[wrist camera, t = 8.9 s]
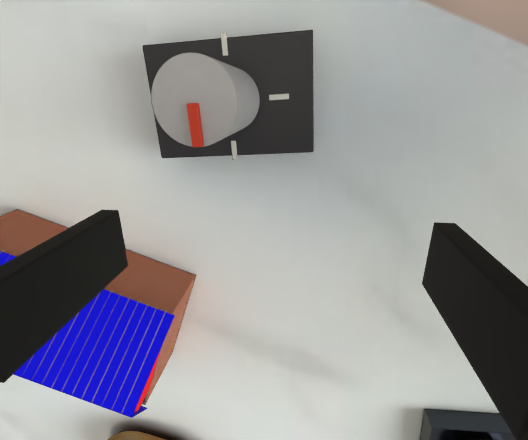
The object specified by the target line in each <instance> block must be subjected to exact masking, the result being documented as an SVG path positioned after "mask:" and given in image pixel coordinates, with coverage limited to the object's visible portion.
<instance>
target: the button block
mask: <svg viewBox="0 0 528 440" xmlns="http://www.w3.org/2000/svg"><path fill="white" fill-rule="evenodd" d="M420 440H516V439H515V437H514V436H513V434H512V432H511V431H510V429H509V427H508V426H507V424H506V422H505V421H504V419H503V417H502V416H501V414H492V413H477V412H462V411H447V410H432V409H425V411H424V417H423V424H422V430H421V436H420Z"/></svg>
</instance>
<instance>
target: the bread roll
mask: <svg viewBox="0 0 528 440" xmlns="http://www.w3.org/2000/svg"><path fill="white" fill-rule="evenodd" d="M108 440H165V439H162V438H159V437H155V436H153V435H150V434H146V433H142V432H139V431H124V432H120V433H117V434H115V435H113V436H112V437H110V438H109V439H108Z"/></svg>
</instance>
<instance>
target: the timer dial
mask: <svg viewBox="0 0 528 440" xmlns="http://www.w3.org/2000/svg"><path fill="white" fill-rule="evenodd" d="M151 100H152V107H153V111H154V114H155V116H156V119H157V121H158V122H159V124H160V126H161V127H162V128H163V130H164V131H165V132H166V133H167V134H168V135H169V136H170V137H171V138H173V139H174V140H176V141H177V142H179V143H182V144H184V145H187V146H192V147H204V146H208V145H211V144H214V143H216V142H218V141H220V140H222V139H224V138H226V137H228V136H230V135H232V134H234V133H236V132H238V131H239V130H241V129H243V128H245V127H247V126H248V125H249V124H250V123H251V122H252V121H253V120H254V118H255V117H256V115H257V112H258V109H259V103H260V98H259V92H258V88H257V86H256V84H255V82H254V80H253V79H252V78H251V77H250V76H249V75H248V74H247V73H246V72H244V71H243V70H241V69H239V68H236V67H234V66H231V65H229V64H226V63H224V62H221V61H219V60H216V59H213V58H211V57H208V56H206V55H203V54H199V53H182V54H179V55H176V56H174V57H172V58H170V59H169V60H168V61H166V62H165V63H164V64H163V65H162V67H161V68H160V69H159V71H158V72H157V74H156V76H155V79H154V81H153V85H152V92H151Z"/></svg>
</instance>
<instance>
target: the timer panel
mask: <svg viewBox="0 0 528 440" xmlns="http://www.w3.org/2000/svg"><path fill="white" fill-rule="evenodd" d="M143 52H144V57H145V63H146V69H147V75H148V81H149V86H150V92H152V85H153V81H154V79H155V76H156V74H157V72H158V71H159V69H160V68H161V67H162V65H163V64H164V63H165V62H166V61H168V60H169V59H170V58H172V57H174V56H176V55H179V54H182V53H199V54H203V55H206V56H208V57H211V58H213V59H216V60H219V61H221V62H224V63H226V64H229V65H231V66H234V67H236V68H239V69H241V70H243V71H244V72H246V73H247V74H248V75H249V76H250V77H251V78H252V79H253V80H254V82H255V84H256V86H257V88H258V92H259V98H260V103H259V109H258V112H257V115H256V117H255V118H254V120H253V121H252V122H251V123H250V124H249V125H248V126H247V127H245V128H243V129H241V130H239V131H238V132H236V133H234V134H232V135H230V136H228V137H226V138H224V139H222V140H220V141H218V142H216V143H214V144H211V145H208V146H204V147H192V146H187V145H184V144H182V143H179V142H177V141H176V140H174V139H173V138H171V137H170V136H169V135H168V134H167V133H166V132H165V131H164V130H163V128H162V127H161V126H160V124H159V122H158V121H157V119H156V116H155V121H156V127H157V133H158V138H159V144H160V150H161V156H162V158H177V157H202V156H226V155H232V158H233V160H236V159H237V155H251V154H276V153H301V152H313V151H314V146H313V30H305V31H295V32H284V33H273V34H262V35H251V36H241V37H230V38H227V35H226V32H223V33H221V38H219V39H208V40H197V41H187V42H176V43H165V44H154V45H143ZM154 115H155V114H154Z"/></svg>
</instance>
